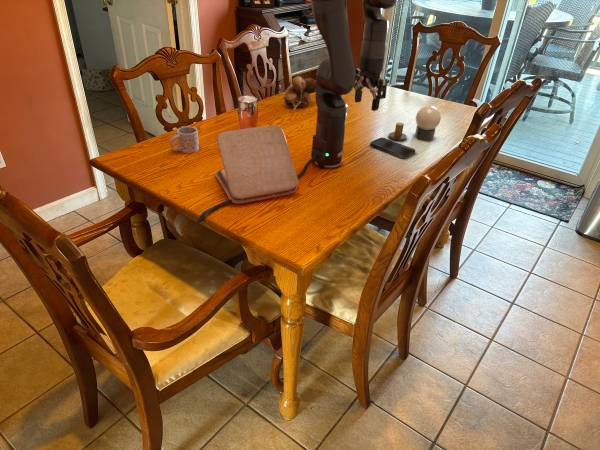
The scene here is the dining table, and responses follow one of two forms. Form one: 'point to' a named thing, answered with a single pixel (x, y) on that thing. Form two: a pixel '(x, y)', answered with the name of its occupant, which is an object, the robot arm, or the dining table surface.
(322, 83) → the robot arm
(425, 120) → the ball
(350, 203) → the dining table surface
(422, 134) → the stand
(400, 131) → the knob on round base
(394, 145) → the phone
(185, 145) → the mug
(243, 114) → the beer glass
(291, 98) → the seed pod
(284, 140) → the case
